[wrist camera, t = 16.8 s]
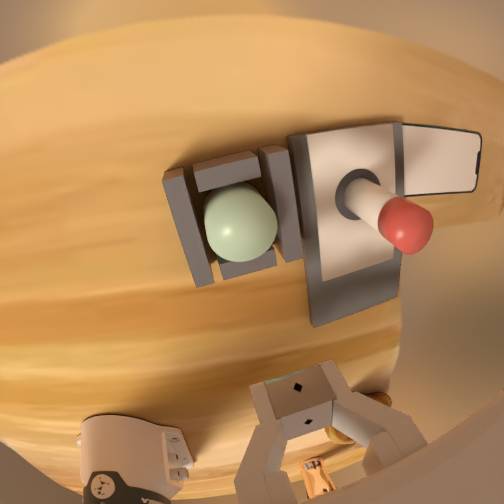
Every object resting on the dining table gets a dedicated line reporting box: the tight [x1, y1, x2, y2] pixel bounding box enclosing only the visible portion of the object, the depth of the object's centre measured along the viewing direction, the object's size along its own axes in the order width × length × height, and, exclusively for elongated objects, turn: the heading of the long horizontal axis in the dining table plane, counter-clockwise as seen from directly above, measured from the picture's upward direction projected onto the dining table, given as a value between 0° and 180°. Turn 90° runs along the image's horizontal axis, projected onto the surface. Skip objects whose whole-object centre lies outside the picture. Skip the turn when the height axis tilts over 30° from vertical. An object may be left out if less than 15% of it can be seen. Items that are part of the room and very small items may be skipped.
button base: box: [162, 144, 303, 288], centre depth 24 cm, size 9×9×3 cm
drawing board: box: [287, 121, 404, 328], centre depth 28 cm, size 20×11×1 cm, turn 11°
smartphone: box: [402, 123, 482, 197], centre depth 27 cm, size 8×1×16 cm
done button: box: [203, 182, 277, 262], centre depth 23 cm, size 5×5×4 cm
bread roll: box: [325, 392, 392, 444], centre depth 42 cm, size 13×10×8 cm
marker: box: [344, 178, 433, 254], centre depth 22 cm, size 3×3×8 cm
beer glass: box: [297, 457, 337, 500], centre depth 49 cm, size 7×7×15 cm
